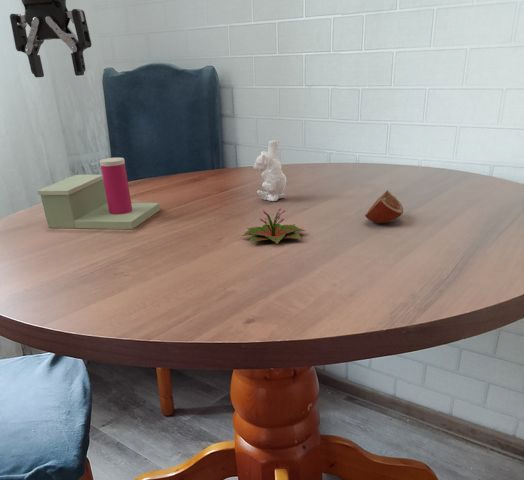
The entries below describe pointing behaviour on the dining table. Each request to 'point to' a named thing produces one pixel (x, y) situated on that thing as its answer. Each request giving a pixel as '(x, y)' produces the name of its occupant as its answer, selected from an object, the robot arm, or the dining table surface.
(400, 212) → the fruit slice
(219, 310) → the dining table surface
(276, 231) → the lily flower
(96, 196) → the step shelf
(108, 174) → the lidded tumbler cup
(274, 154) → the white bunny figurine
